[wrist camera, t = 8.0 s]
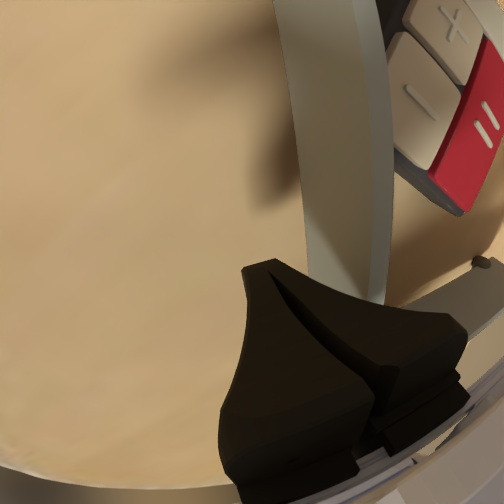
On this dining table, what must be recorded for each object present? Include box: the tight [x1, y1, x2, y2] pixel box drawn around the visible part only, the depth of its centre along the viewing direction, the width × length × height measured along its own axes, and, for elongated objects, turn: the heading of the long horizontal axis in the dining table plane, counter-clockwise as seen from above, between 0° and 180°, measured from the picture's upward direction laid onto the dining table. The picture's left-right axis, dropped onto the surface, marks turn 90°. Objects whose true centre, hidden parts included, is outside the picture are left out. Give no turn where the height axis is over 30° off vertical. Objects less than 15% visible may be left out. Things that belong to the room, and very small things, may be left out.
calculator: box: [375, 0, 504, 217], centre depth 11 cm, size 11×4×15 cm
